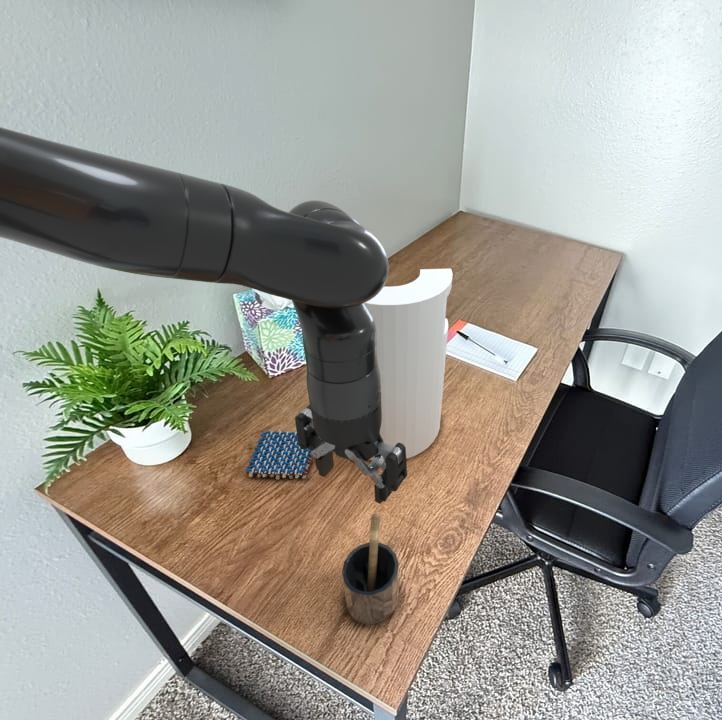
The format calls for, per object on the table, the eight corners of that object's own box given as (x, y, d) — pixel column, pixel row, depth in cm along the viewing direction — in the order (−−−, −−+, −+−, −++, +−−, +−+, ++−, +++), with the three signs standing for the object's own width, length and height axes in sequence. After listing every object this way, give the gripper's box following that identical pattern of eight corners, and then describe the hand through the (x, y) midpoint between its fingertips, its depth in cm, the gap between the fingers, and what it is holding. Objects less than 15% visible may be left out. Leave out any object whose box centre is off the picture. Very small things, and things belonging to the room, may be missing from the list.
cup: (395, 625, 66) (394, 596, 60) (341, 624, 65) (336, 594, 60) (400, 574, 72) (401, 543, 66) (352, 572, 71) (348, 541, 65)
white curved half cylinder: (336, 424, 94) (438, 413, 100) (338, 469, 85) (449, 453, 91) (318, 269, 72) (450, 266, 78) (319, 308, 64) (466, 301, 70)
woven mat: (307, 481, 83) (306, 474, 81) (245, 479, 82) (243, 472, 80) (320, 437, 91) (319, 430, 90) (264, 435, 90) (262, 427, 88)
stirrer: (373, 618, 66) (370, 572, 58) (364, 618, 66) (360, 571, 58) (382, 560, 72) (380, 511, 64) (374, 560, 72) (371, 511, 64)
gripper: (267, 390, 49) (289, 484, 59) (382, 440, 46) (385, 531, 56) (314, 353, 55) (327, 444, 65) (420, 395, 51) (416, 485, 61)
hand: (354, 484), depth 60 cm, fingers open, 8 cm apart
